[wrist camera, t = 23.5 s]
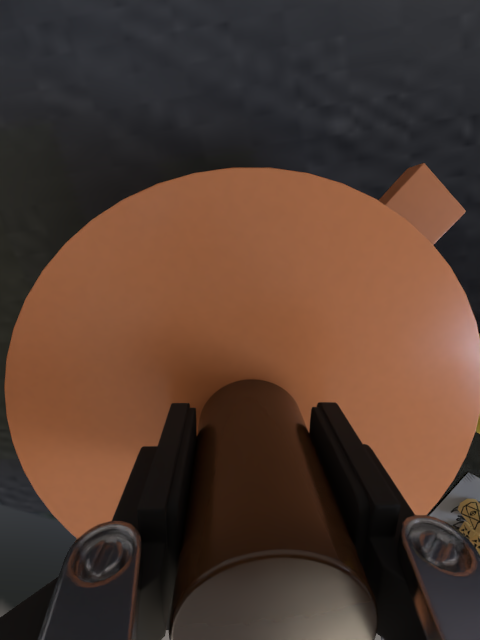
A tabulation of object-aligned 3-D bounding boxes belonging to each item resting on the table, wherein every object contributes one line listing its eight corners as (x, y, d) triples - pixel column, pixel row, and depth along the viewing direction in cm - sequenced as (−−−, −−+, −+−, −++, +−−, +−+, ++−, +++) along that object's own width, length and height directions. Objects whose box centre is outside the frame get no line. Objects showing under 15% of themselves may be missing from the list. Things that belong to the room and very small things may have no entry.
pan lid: (-61, 433, 12) (-443, 702, 5) (222, 41, 9) (205, -572, 2) (263, 620, 15) (292, 931, 9) (546, 383, 12) (942, 571, 6)
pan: (18, 398, 18) (-79, 476, 12) (262, 80, 14) (286, -21, 9) (225, 529, 21) (225, 639, 16) (468, 298, 18) (586, 332, 12)
